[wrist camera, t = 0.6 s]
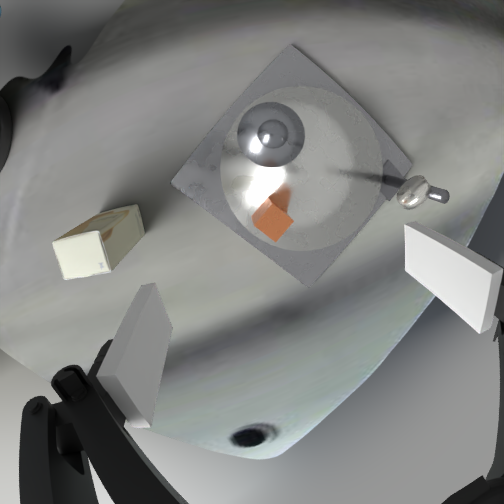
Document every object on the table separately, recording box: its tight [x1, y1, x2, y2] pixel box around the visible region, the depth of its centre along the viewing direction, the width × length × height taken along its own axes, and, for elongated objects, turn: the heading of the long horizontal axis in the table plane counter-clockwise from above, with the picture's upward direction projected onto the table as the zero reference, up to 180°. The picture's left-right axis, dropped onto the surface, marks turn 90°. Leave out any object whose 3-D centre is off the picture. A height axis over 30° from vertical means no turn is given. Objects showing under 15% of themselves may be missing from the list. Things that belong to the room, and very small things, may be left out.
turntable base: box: [170, 44, 413, 288], centre depth 35 cm, size 23×23×1 cm
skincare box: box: [52, 204, 145, 280], centre depth 31 cm, size 6×4×12 cm
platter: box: [220, 86, 383, 251], centre depth 32 cm, size 20×20×5 cm
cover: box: [237, 102, 305, 168], centre depth 30 cm, size 7×7×4 cm
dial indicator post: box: [380, 160, 449, 210], centre depth 31 cm, size 4×6×13 cm
